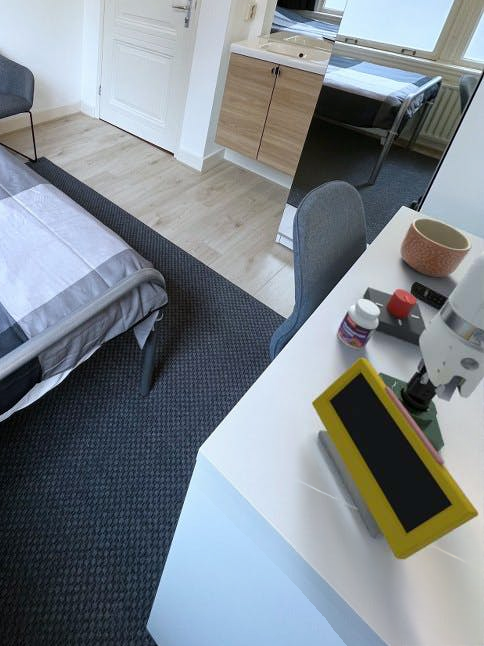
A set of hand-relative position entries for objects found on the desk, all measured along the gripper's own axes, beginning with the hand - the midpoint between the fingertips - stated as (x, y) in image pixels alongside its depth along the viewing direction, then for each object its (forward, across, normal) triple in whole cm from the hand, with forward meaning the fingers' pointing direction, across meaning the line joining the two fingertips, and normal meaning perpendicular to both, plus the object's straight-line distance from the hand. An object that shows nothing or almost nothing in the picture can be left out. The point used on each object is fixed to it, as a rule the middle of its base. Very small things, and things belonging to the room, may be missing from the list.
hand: (417, 393), depth 73 cm
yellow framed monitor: (+6, -15, +8) cm, 18 cm away
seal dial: (+3, +23, -2) cm, 23 cm away
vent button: (+2, 0, 0) cm, 2 cm away
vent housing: (+6, 0, 0) cm, 6 cm away
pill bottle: (+6, +13, +7) cm, 16 cm away
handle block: (+6, +23, -2) cm, 24 cm away
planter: (+6, +48, -13) cm, 50 cm away
